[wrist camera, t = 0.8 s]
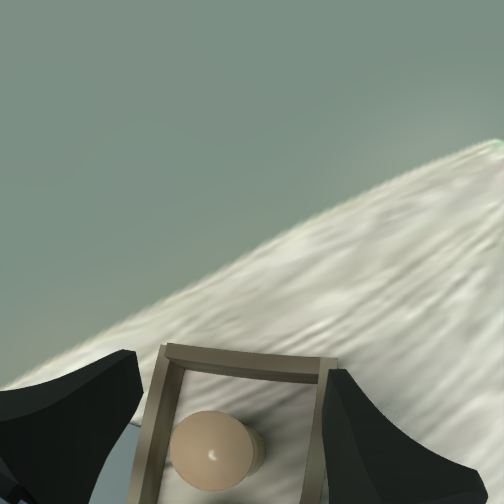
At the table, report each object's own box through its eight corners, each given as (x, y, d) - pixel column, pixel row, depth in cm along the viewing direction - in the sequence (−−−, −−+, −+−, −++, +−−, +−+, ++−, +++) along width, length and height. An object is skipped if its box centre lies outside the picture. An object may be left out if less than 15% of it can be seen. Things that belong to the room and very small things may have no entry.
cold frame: (295, 599, 13) (288, 619, 10) (135, 555, 17) (110, 563, 14) (337, 370, 24) (337, 358, 21) (176, 354, 28) (155, 340, 25)
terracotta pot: (264, 488, 20) (244, 499, 15) (198, 474, 21) (163, 478, 17) (275, 423, 23) (259, 417, 18) (209, 413, 24) (178, 403, 20)
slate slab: (133, 523, 19) (126, 524, 18) (58, 483, 22) (52, 482, 21) (150, 430, 24) (144, 429, 24) (74, 402, 27) (68, 400, 26)
